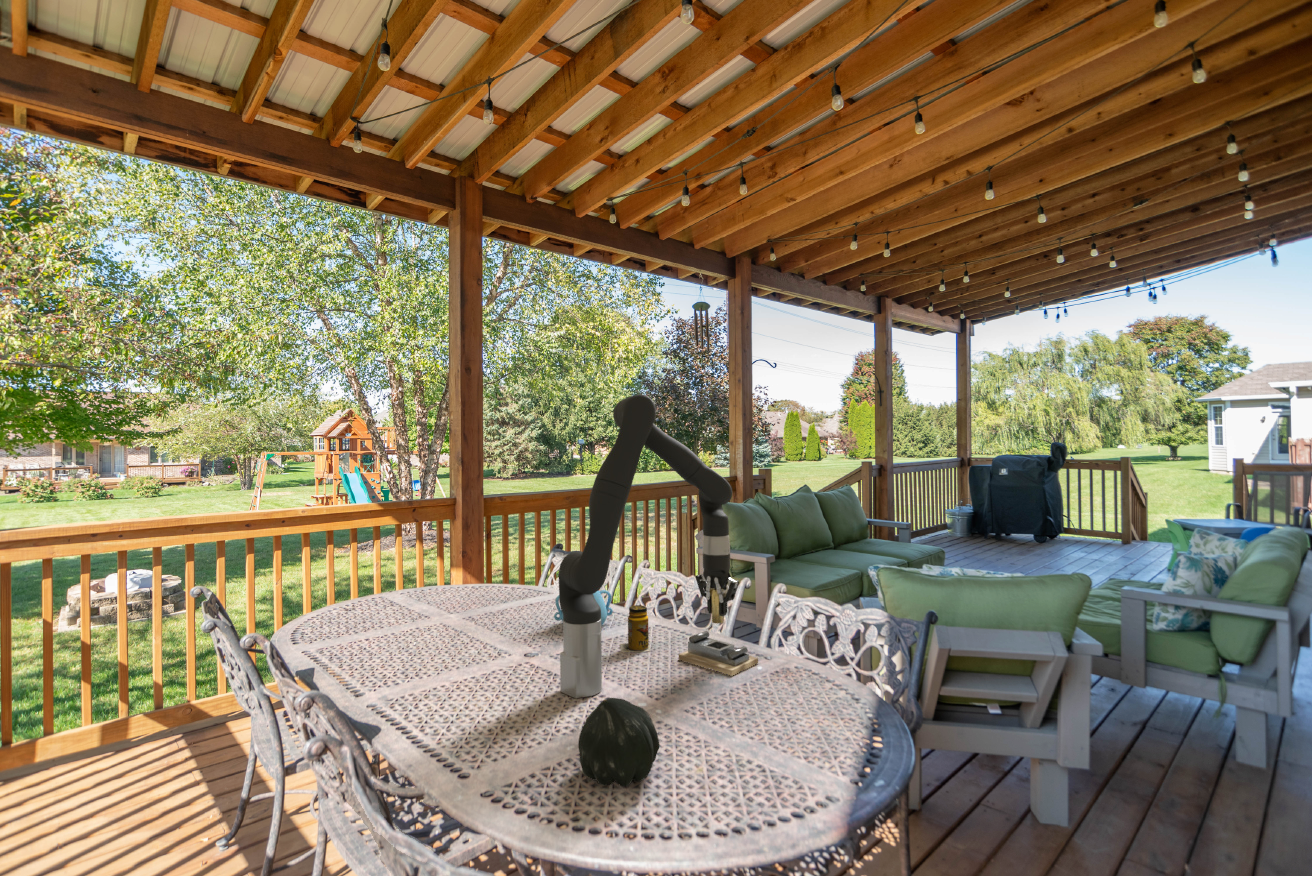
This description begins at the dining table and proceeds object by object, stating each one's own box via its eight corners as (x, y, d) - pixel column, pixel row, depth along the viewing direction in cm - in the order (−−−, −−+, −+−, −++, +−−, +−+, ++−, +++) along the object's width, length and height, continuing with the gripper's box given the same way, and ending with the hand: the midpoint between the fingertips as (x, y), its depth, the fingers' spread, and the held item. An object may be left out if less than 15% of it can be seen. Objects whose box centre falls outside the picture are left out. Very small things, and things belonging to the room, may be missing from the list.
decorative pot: (550, 620, 207) (549, 580, 207) (606, 615, 213) (605, 576, 213) (558, 638, 188) (558, 594, 188) (620, 631, 194) (619, 589, 194)
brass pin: (718, 624, 164) (718, 590, 164) (709, 621, 166) (708, 589, 166) (725, 621, 167) (725, 588, 167) (716, 619, 169) (716, 586, 169)
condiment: (651, 651, 175) (650, 609, 175) (621, 653, 174) (621, 611, 174) (648, 643, 182) (647, 603, 182) (620, 644, 181) (619, 604, 181)
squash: (670, 723, 118) (618, 668, 117) (676, 767, 103) (616, 704, 102) (616, 772, 118) (564, 717, 117) (614, 824, 103) (554, 761, 102)
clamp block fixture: (731, 676, 156) (731, 651, 156) (678, 659, 168) (678, 636, 168) (758, 663, 164) (757, 640, 164) (705, 648, 177) (705, 627, 177)
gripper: (687, 550, 169) (688, 612, 169) (729, 556, 159) (730, 622, 159) (704, 546, 174) (705, 606, 174) (745, 552, 164) (746, 616, 164)
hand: (717, 614), depth 166 cm, fingers closed on brass pin, 3 cm apart
